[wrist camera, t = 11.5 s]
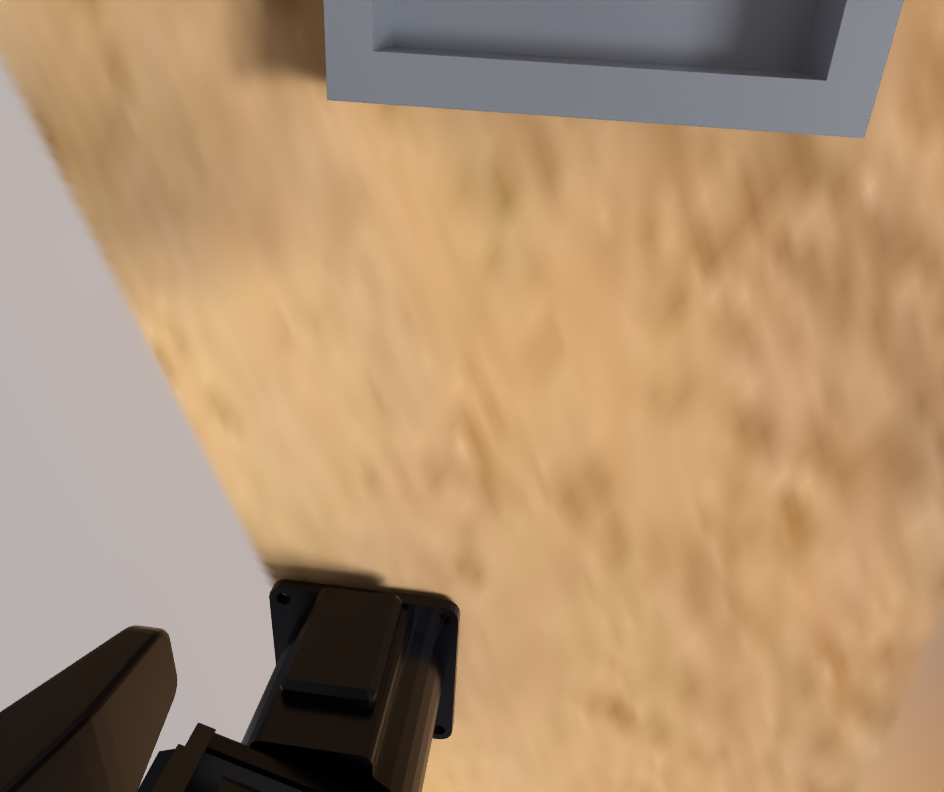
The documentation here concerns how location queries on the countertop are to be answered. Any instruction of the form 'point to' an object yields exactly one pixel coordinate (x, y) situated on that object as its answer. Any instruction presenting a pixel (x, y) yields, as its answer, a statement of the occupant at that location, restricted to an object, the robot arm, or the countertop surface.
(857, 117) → the tray
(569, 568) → the countertop surface
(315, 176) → the countertop surface
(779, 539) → the countertop surface
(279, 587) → the robot arm
